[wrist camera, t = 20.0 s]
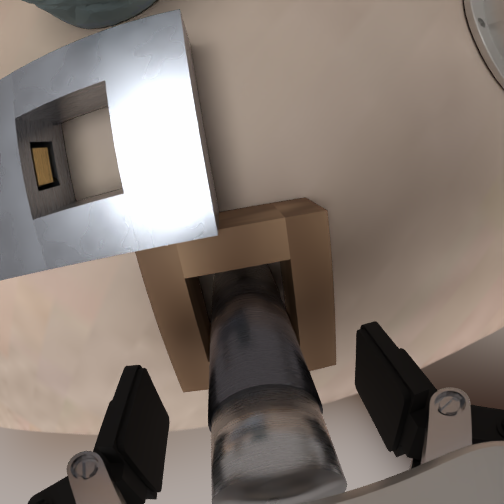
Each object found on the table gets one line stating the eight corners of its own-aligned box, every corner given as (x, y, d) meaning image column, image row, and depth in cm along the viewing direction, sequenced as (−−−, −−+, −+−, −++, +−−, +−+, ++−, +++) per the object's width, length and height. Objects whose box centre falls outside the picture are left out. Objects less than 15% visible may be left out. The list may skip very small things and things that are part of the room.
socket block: (190, 44, 14) (179, 9, 10) (219, 212, 18) (218, 235, 13) (-22, 128, 14) (-68, 129, 9) (5, 260, 17) (-36, 288, 12)
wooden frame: (305, 197, 18) (327, 210, 14) (318, 329, 21) (336, 364, 17) (151, 225, 17) (133, 245, 14) (188, 352, 20) (183, 392, 17)
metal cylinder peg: (267, 249, 19) (356, 451, 5) (275, 302, 20) (346, 508, 6) (207, 259, 18) (189, 480, 5) (219, 312, 20) (225, 529, 6)
